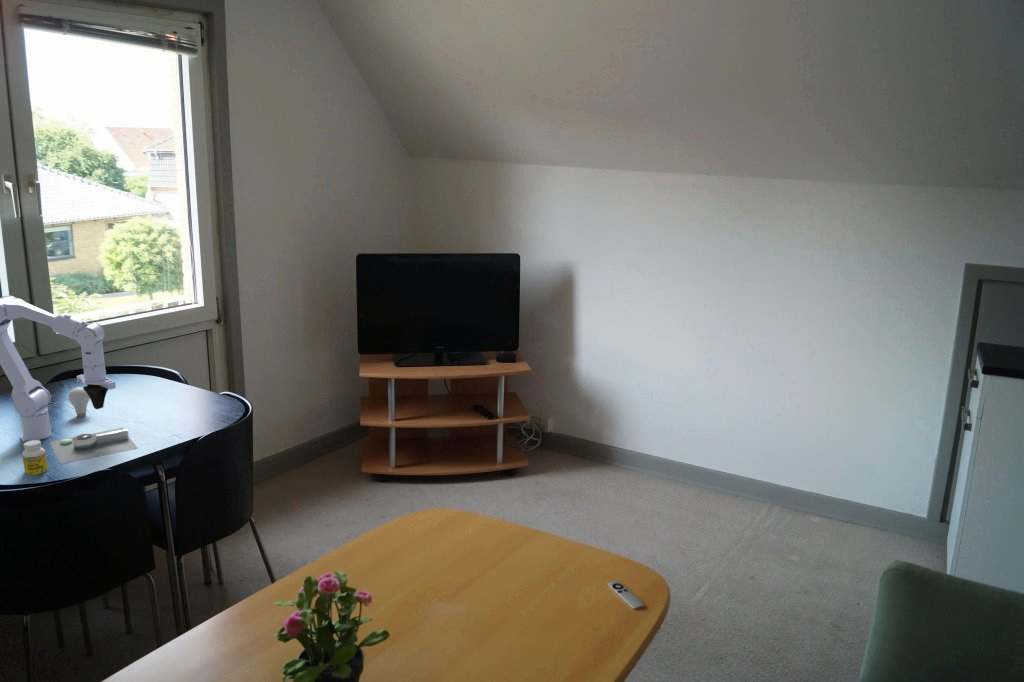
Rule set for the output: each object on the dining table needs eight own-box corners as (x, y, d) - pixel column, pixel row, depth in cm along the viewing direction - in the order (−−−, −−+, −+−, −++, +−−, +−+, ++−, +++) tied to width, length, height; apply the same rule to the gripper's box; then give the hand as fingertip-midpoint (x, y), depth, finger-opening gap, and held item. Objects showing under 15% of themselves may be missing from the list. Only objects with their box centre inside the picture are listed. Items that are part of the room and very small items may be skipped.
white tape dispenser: (76, 451, 228) (74, 441, 227) (72, 444, 233) (70, 435, 232) (130, 440, 237) (129, 431, 236) (125, 434, 241) (124, 425, 240)
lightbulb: (95, 419, 257) (91, 387, 254) (75, 424, 253) (71, 391, 250) (88, 415, 261) (84, 383, 258) (68, 419, 257) (64, 387, 254)
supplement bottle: (47, 470, 219) (43, 437, 217) (49, 477, 215) (44, 444, 213) (25, 474, 217) (20, 441, 214) (26, 481, 212) (21, 448, 210)
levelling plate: (49, 446, 235) (48, 439, 235) (122, 432, 247) (121, 425, 247) (61, 469, 220) (60, 461, 220) (138, 453, 232) (137, 445, 231)
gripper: (65, 364, 234) (70, 407, 238) (98, 371, 228) (103, 416, 232) (86, 358, 241) (91, 401, 244) (119, 365, 234) (124, 409, 238)
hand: (98, 408), depth 238 cm, fingers closed
